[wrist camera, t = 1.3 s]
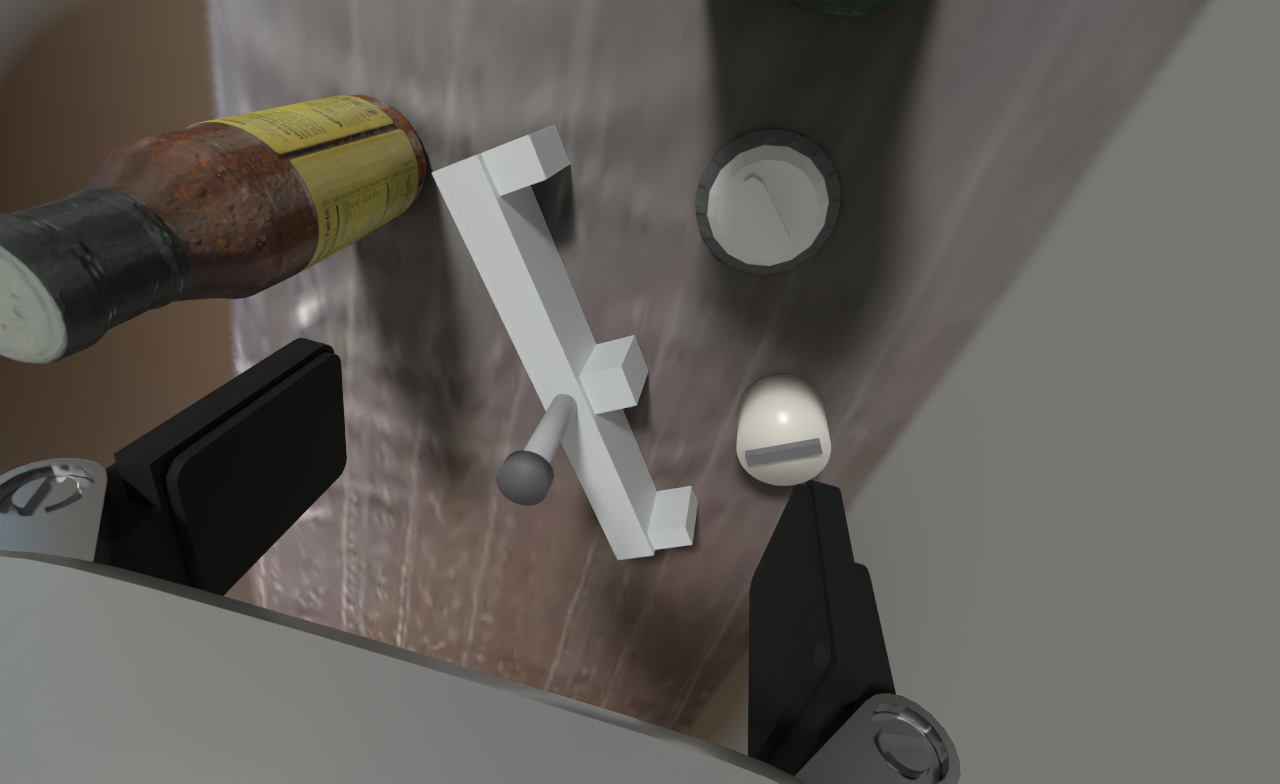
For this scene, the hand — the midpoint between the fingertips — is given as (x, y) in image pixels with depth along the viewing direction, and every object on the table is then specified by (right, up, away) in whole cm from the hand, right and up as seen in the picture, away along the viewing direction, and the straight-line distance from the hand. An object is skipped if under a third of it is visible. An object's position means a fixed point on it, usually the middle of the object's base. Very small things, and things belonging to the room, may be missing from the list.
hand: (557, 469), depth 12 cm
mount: (-1, +4, +24) cm, 24 cm away
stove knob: (+8, +11, +19) cm, 23 cm away
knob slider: (+10, 0, +24) cm, 26 cm away
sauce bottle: (-12, +14, +21) cm, 28 cm away
